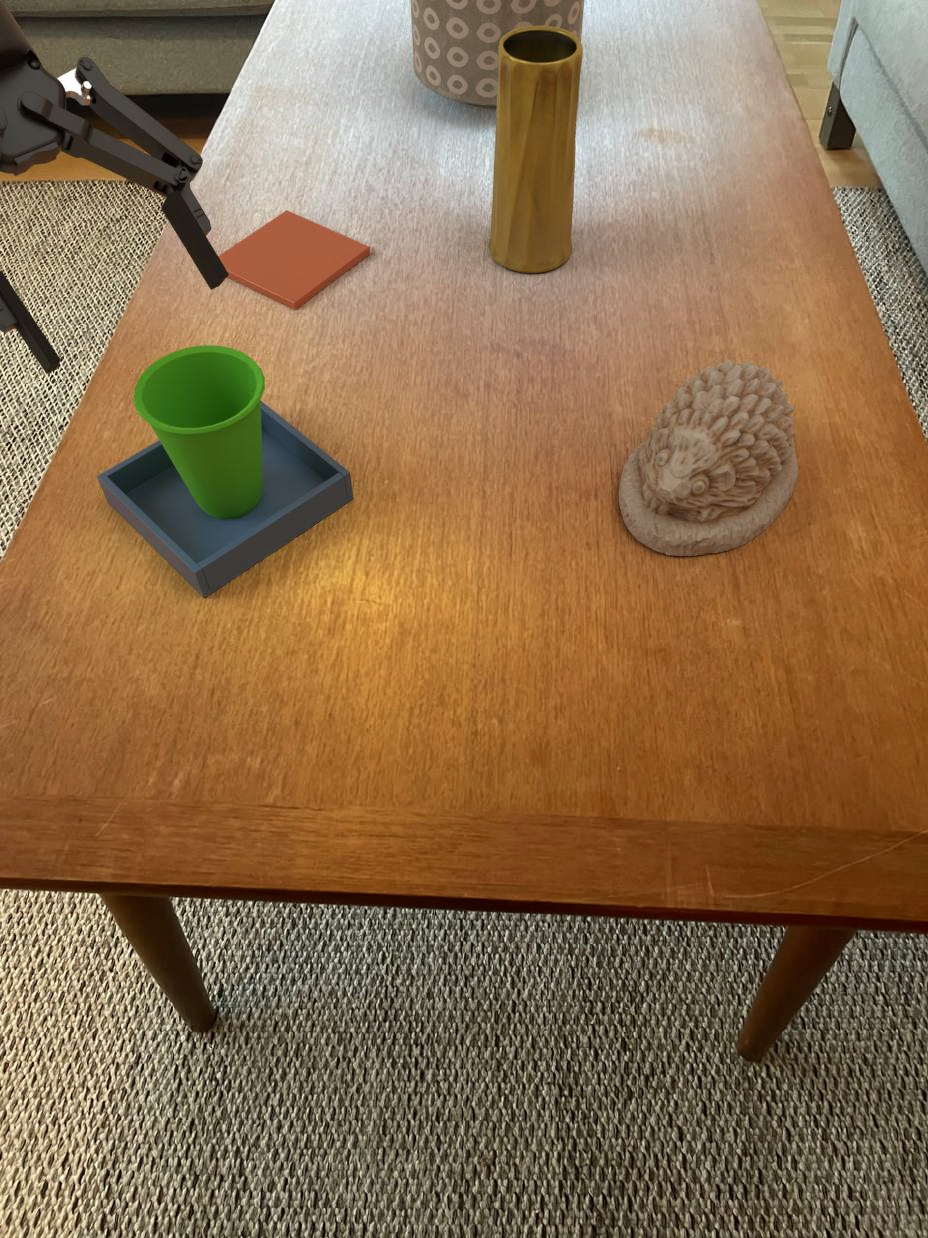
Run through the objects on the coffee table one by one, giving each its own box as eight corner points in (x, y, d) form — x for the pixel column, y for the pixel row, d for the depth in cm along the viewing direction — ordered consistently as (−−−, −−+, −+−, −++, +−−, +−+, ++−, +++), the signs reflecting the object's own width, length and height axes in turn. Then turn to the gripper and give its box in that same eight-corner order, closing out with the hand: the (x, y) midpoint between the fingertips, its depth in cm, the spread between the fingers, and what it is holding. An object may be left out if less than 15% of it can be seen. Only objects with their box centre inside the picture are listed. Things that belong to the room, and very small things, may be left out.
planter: (564, 49, 122) (577, -127, 107) (587, 128, 111) (605, -57, 96) (411, 56, 121) (402, -120, 107) (418, 136, 110) (410, -49, 95)
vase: (514, 284, 94) (522, 76, 78) (473, 240, 98) (473, 35, 83) (587, 259, 96) (609, 52, 81) (544, 217, 100) (556, 13, 85)
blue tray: (204, 598, 72) (194, 572, 69) (107, 502, 78) (95, 475, 75) (354, 498, 78) (350, 471, 75) (253, 416, 83) (247, 388, 81)
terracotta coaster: (295, 310, 92) (293, 302, 91) (210, 269, 96) (209, 261, 95) (370, 253, 97) (369, 246, 96) (287, 216, 101) (286, 209, 100)
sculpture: (580, 508, 77) (593, 410, 69) (702, 398, 84) (727, 298, 76) (710, 588, 72) (739, 493, 64) (827, 464, 79) (867, 365, 71)
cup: (150, 492, 78) (108, 383, 69) (246, 438, 81) (218, 327, 72) (213, 558, 73) (177, 450, 65) (311, 498, 77) (290, 388, 68)
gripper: (108, -2, 72) (266, 266, 78) (-237, 119, 62) (-27, 417, 68) (127, -65, 66) (298, 233, 71) (-256, 59, 56) (-21, 395, 61)
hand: (140, 323), depth 69 cm, fingers open, 13 cm apart
